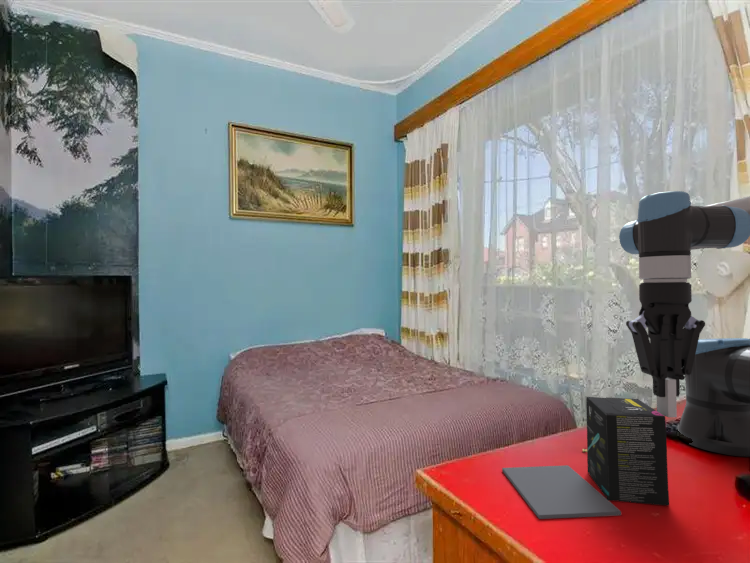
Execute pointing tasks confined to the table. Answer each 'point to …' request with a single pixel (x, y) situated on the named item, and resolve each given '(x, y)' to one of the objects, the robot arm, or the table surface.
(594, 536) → the table surface
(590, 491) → the felt pad
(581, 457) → the table surface
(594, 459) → the tampon box
